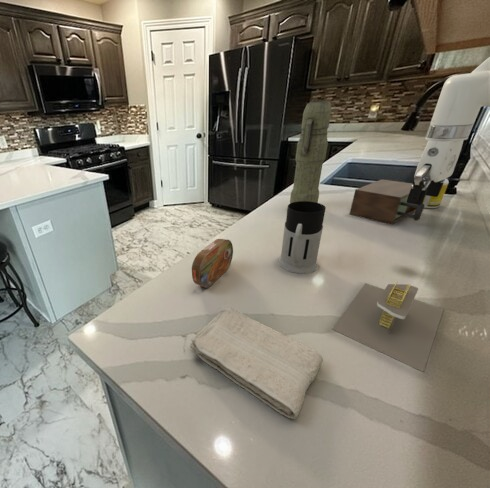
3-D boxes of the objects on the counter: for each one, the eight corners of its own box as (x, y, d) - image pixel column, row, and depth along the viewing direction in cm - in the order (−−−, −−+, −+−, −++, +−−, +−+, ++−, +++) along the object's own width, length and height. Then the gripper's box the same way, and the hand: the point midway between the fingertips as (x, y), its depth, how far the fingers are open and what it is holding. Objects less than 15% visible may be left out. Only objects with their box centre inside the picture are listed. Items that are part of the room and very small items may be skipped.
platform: (332, 329, 46) (339, 300, 43) (365, 283, 56) (373, 256, 53) (423, 372, 37) (441, 339, 34) (443, 308, 47) (458, 279, 44)
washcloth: (224, 313, 52) (224, 301, 50) (324, 363, 40) (328, 349, 39) (186, 352, 45) (185, 339, 43) (295, 426, 33) (298, 412, 32)
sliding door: (426, 218, 76) (434, 198, 74) (415, 224, 74) (423, 204, 71) (402, 213, 81) (408, 194, 78) (391, 219, 78) (397, 199, 76)
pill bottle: (443, 206, 85) (458, 170, 80) (431, 210, 83) (445, 174, 78) (420, 201, 91) (432, 167, 85) (407, 205, 89) (419, 170, 84)
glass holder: (319, 258, 66) (330, 202, 59) (311, 290, 55) (324, 226, 49) (282, 252, 70) (289, 198, 63) (269, 280, 60) (275, 220, 53)
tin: (201, 294, 58) (200, 262, 54) (190, 289, 60) (188, 258, 56) (234, 263, 67) (234, 234, 64) (223, 260, 69) (223, 232, 66)
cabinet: (417, 211, 84) (426, 185, 80) (391, 224, 78) (400, 197, 74) (374, 202, 94) (381, 179, 90) (349, 214, 87) (355, 189, 83)
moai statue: (320, 205, 96) (340, 98, 80) (310, 216, 89) (330, 100, 73) (295, 202, 102) (308, 101, 86) (284, 212, 94) (296, 103, 78)
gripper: (454, 137, 57) (425, 210, 65) (482, 128, 64) (453, 195, 72) (411, 136, 63) (390, 203, 71) (442, 128, 70) (419, 190, 78)
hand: (422, 199), depth 72 cm, fingers open, 9 cm apart
